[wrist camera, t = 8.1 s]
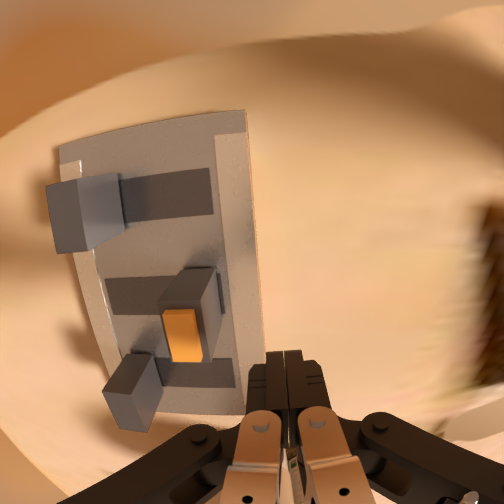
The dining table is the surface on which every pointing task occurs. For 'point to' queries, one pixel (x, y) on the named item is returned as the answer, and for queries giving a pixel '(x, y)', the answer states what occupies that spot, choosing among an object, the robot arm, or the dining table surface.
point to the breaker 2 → (134, 392)
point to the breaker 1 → (85, 212)
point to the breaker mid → (191, 315)
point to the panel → (176, 250)
